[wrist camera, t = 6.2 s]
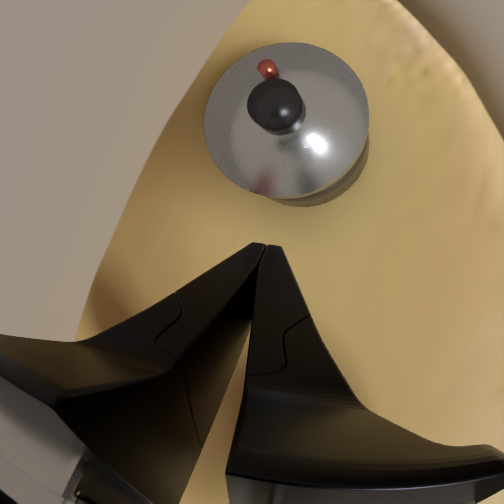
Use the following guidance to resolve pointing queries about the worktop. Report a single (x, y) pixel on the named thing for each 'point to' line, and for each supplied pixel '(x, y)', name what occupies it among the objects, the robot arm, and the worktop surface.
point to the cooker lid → (287, 120)
